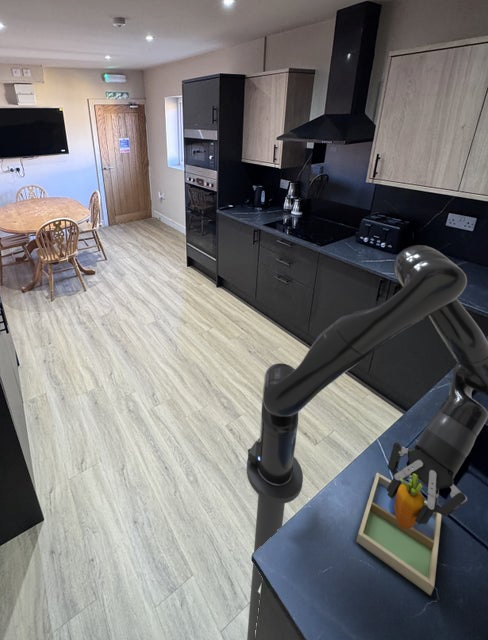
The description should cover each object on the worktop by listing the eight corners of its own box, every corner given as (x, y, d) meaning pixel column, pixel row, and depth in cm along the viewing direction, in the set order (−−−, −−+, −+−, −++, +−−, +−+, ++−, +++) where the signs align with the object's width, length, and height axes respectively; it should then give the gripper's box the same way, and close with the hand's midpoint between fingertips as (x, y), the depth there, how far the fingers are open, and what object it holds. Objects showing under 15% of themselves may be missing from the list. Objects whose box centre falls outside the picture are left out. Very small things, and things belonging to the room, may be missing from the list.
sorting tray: (356, 542, 74) (358, 533, 73) (374, 480, 87) (376, 472, 86) (430, 596, 65) (434, 586, 64) (439, 518, 78) (442, 510, 77)
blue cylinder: (386, 513, 79) (391, 494, 76) (391, 493, 83) (396, 474, 81) (415, 532, 75) (422, 512, 73) (419, 510, 79) (425, 491, 77)
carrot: (405, 545, 68) (420, 497, 63) (383, 521, 72) (395, 474, 67) (420, 534, 70) (435, 486, 65) (398, 510, 74) (411, 464, 69)
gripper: (406, 412, 73) (365, 477, 71) (485, 466, 61) (438, 545, 60) (414, 420, 77) (376, 481, 76) (490, 472, 65) (446, 545, 64)
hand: (403, 509), depth 68 cm, fingers closed on carrot, 5 cm apart
